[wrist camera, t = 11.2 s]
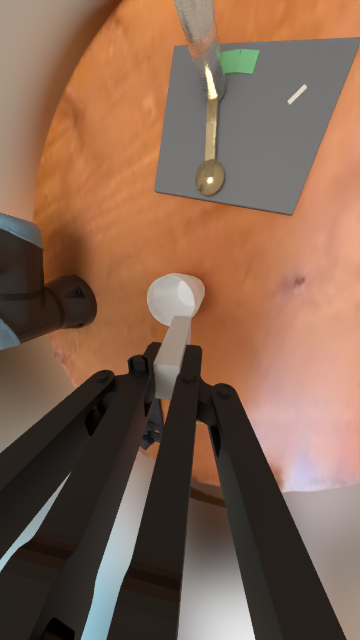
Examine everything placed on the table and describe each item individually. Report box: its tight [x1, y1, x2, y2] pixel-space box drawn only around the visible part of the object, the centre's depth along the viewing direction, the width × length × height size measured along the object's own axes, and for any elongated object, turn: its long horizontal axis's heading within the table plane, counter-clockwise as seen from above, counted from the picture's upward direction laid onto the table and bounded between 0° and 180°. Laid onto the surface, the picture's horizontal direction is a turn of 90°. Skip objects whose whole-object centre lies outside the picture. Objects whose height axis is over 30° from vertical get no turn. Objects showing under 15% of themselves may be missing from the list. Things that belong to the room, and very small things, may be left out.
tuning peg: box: [174, 0, 226, 196], centre depth 25 cm, size 18×5×14 cm, turn 0°
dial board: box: [154, 37, 360, 216], centre depth 31 cm, size 26×20×1 cm
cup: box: [147, 273, 205, 326], centre depth 37 cm, size 9×9×12 cm
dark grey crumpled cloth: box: [140, 394, 164, 450], centre depth 58 cm, size 15×22×5 cm
